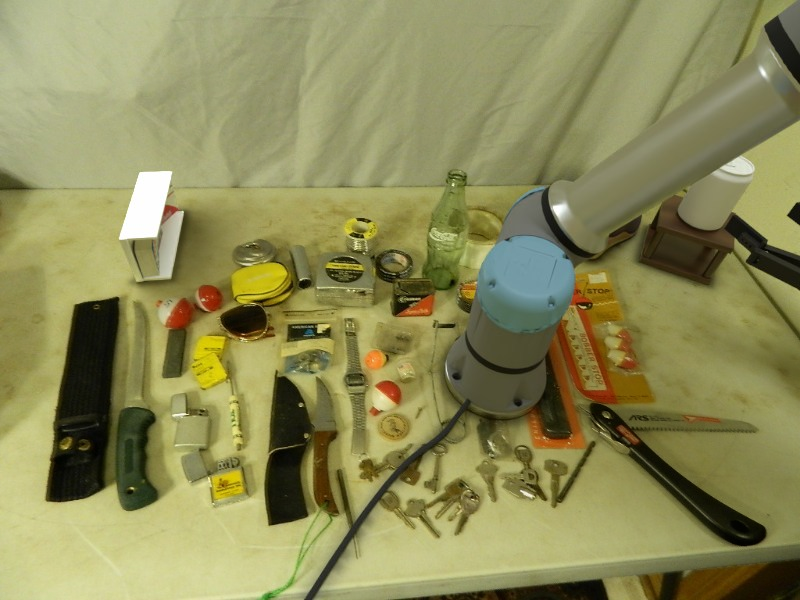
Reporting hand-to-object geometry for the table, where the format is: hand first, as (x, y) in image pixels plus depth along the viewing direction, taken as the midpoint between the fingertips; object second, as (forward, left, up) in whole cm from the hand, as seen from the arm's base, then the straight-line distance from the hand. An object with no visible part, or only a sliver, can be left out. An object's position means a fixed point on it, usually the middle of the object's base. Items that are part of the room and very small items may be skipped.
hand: (762, 214), depth 86 cm
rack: (+7, +7, -17) cm, 20 cm away
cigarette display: (-40, +94, -17) cm, 103 cm away
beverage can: (+7, +7, -8) cm, 13 cm away
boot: (+7, +20, -17) cm, 27 cm away
